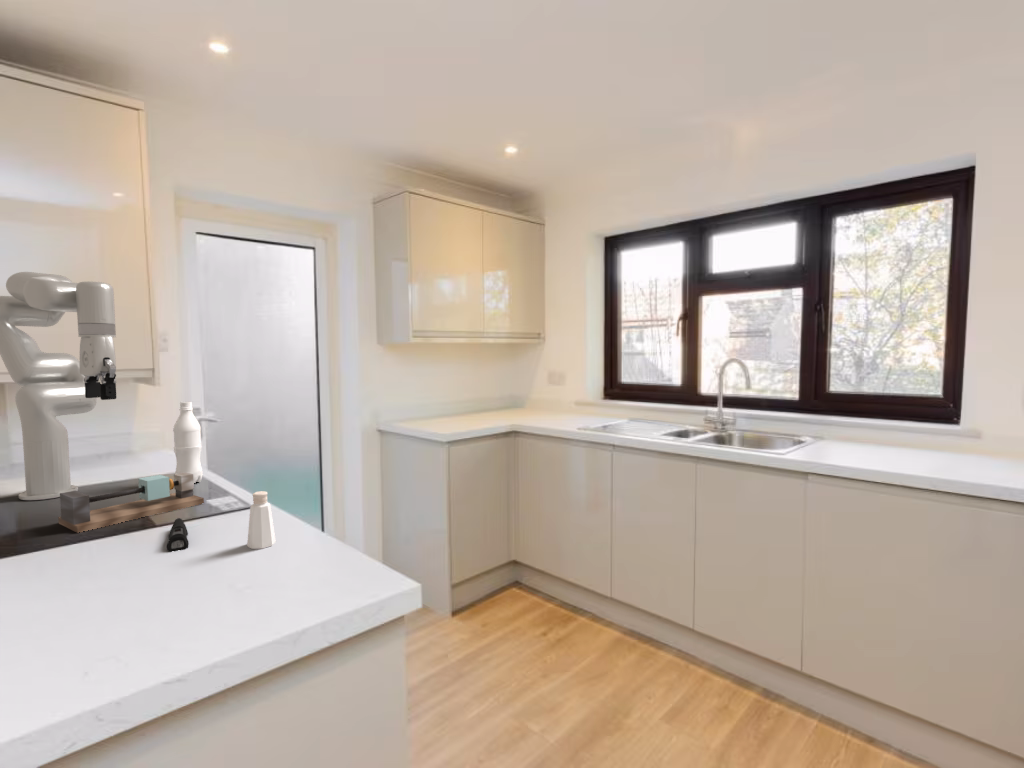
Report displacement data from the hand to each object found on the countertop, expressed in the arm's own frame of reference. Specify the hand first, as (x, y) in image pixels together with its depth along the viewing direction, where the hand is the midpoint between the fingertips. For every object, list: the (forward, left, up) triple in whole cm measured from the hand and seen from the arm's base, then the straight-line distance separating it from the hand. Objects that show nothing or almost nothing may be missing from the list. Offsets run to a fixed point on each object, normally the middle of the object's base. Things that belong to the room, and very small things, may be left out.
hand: (100, 398), depth 135 cm
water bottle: (-8, +24, -28) cm, 38 cm away
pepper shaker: (+59, +7, -28) cm, 66 cm away
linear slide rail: (+12, +2, -28) cm, 31 cm away
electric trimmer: (+41, -1, -29) cm, 50 cm away
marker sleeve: (+12, +6, -25) cm, 29 cm away
